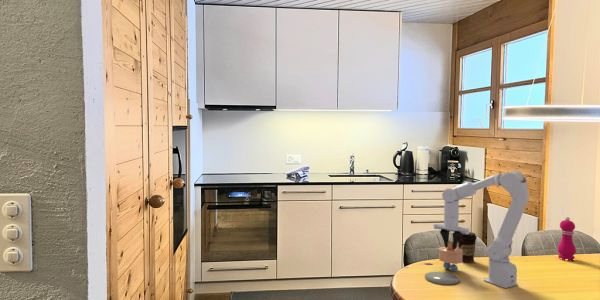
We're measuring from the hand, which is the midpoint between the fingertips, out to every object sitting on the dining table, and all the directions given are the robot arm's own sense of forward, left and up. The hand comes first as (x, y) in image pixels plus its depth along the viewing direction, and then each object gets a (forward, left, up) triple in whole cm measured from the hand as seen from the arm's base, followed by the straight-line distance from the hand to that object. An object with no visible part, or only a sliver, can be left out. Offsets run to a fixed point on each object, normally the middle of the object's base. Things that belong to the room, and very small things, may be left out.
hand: (450, 247), depth 170 cm
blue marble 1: (+2, 0, -10) cm, 10 cm away
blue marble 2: (-2, 0, -10) cm, 10 cm away
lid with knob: (0, 0, -5) cm, 5 cm away
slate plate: (-6, +12, -10) cm, 16 cm away
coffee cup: (+5, -17, -10) cm, 20 cm away
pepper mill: (-15, -61, -10) cm, 64 cm away
